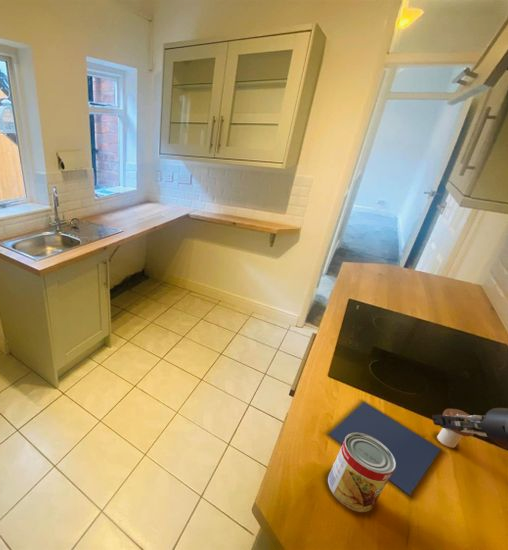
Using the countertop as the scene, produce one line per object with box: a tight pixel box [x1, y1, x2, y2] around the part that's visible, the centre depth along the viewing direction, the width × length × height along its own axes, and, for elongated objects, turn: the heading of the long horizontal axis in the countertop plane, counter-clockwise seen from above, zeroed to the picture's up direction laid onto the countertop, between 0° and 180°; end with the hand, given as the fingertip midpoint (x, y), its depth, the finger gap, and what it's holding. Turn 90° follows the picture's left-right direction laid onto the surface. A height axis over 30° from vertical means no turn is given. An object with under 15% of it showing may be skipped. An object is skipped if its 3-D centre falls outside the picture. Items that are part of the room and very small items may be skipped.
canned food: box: [327, 433, 396, 513], centre depth 58 cm, size 8×8×12 cm
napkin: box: [328, 401, 442, 496], centre depth 71 cm, size 18×16×1 cm
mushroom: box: [436, 408, 475, 448], centre depth 69 cm, size 6×6×8 cm
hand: (448, 421), depth 71 cm, fingers closed on mushroom, 5 cm apart
